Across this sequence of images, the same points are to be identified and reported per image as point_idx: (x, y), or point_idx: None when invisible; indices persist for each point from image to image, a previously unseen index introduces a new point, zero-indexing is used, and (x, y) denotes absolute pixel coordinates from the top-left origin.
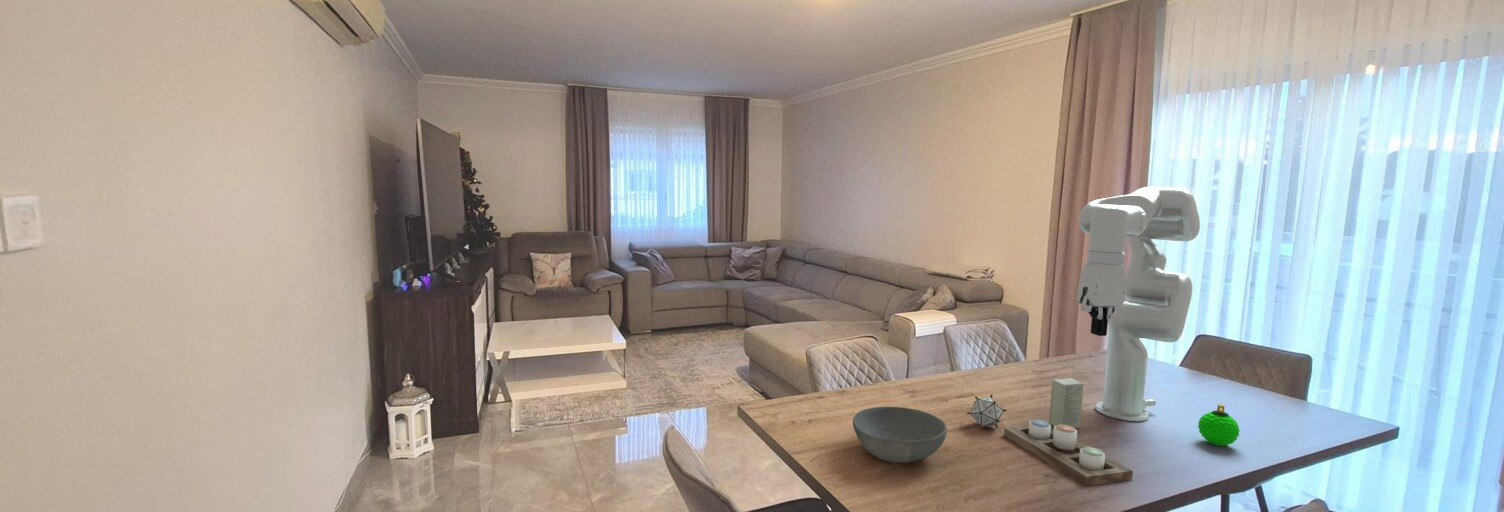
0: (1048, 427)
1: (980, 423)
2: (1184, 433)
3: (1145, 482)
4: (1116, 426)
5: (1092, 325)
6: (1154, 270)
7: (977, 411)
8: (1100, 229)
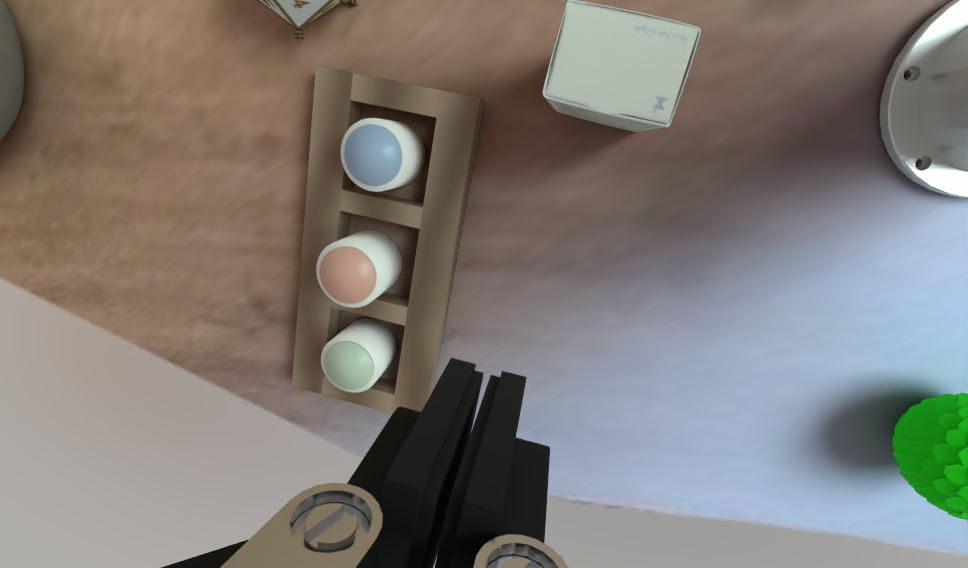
0: (377, 190)
1: None
2: (953, 330)
3: None
4: (789, 181)
5: (379, 447)
6: None
7: None
8: None
